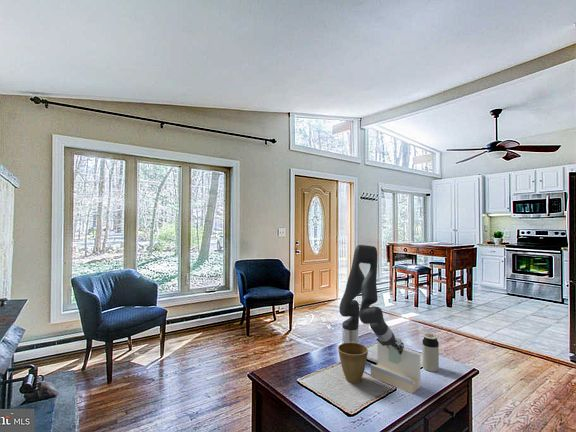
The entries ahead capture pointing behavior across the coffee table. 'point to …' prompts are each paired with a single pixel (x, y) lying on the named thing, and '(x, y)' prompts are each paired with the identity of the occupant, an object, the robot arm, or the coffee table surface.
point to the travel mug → (430, 352)
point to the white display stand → (398, 369)
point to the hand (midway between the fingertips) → (396, 350)
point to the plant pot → (353, 360)
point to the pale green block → (394, 354)
